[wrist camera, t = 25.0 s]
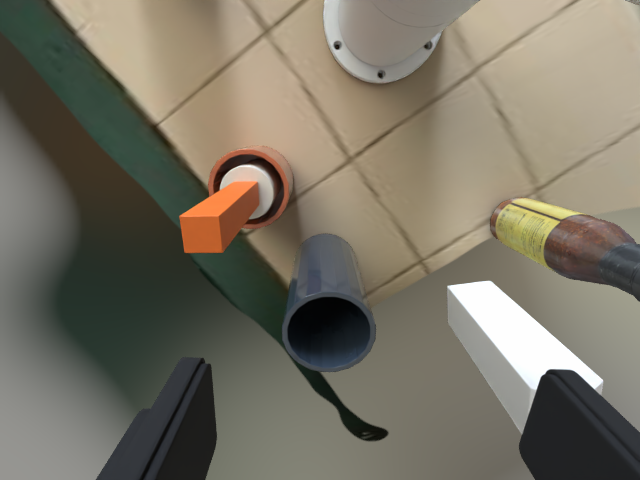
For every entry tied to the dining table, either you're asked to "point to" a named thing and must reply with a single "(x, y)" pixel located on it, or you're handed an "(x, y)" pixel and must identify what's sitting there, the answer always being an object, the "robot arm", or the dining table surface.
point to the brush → (230, 207)
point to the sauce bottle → (569, 243)
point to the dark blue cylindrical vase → (327, 307)
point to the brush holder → (248, 154)
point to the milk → (508, 346)
